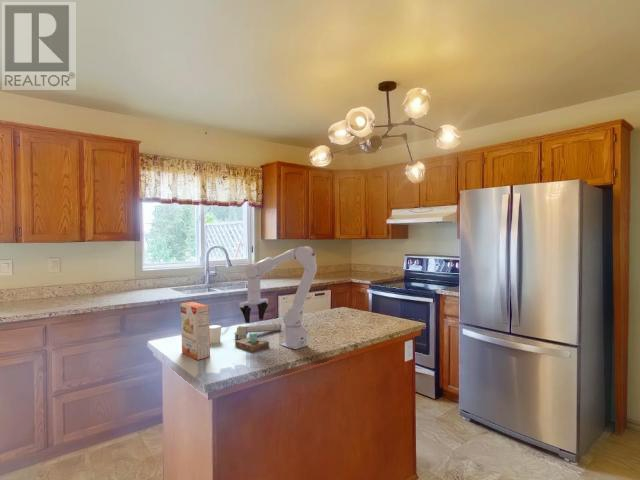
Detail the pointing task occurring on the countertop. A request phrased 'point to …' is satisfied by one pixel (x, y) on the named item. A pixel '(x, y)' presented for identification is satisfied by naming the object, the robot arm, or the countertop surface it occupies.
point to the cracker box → (195, 330)
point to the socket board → (250, 347)
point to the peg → (253, 338)
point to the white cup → (215, 333)
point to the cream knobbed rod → (256, 329)
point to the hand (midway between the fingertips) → (254, 321)
